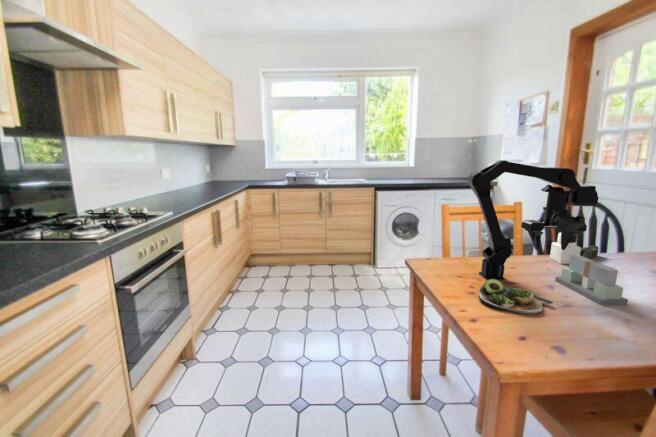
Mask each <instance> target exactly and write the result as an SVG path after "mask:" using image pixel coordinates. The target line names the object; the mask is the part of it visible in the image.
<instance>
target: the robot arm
mask: <svg viewBox="0 0 656 437" xmlns="http://www.w3.org/2000/svg"><path fill="white" fill-rule="evenodd" d="M504 173H505V174H506V173H507V174H509V173H510V174H512V175H513V174H515V175H519V176H524V177H528V178H529V177H531V178H536V179H539V180H540V181H543V182H547V183H549V184H546V185H545V186H544V187H542V188H541V189H540V191H541V192H545V193H547V198H546V199H547V200H546V204H545V206H543V207H542V211H543V210H544V211H545V212H544V218H541V220H540V221H538V220H535V219H524V220H523V221H522V222H521V226H520V227H521V228H522V229H523V230H524V231H527V233H528V235H529V237H530V240H531V242H532V245H533V247H534V250H536V251H538V250H539V249H540V242H541V237H542V235H543V234H544V232H543V230H544V229H559V230H560V233H561V249H562V250H565V249H566V247H567V246H568V244H569V243H570V241H571V240H572V238H573V237H574V236H576V235H577V236H578V235H579V234H580V235H581V234H583V232H586V231H587V227H588V225H587V224H586V218H585V217H584V216H582V215H576V216H571V210H570V209H568V204H569V205H571V206H572V207H595V206H596V205H597V204H598V202H599V194H598V191H597V190H596V188H597V187H596V186H595V185H584V186H583V185H581V184H580V183H579V181H578V179H577V178H576V173H575V171H574V170H573V169H572V168H567V167H547V166H545V167H541V166H535V165H529V164H522V163H519V162H518V163H517V162H512V161H508V160H505V159H504V160H501V159H500V160H497V161H495V162H494V163H492V164H491V165H489V166H487V167H484V168H483V169H481V170H479V171H473V172H471V173H470V174H469V175H468V177H467V183H468V185H469V187H470V189H471V190H472V192H473V193H474V195H475V196H476V199H477V201H478V205H479V208H480V210H481V214H482V216H483V220H484V223H485V227H486V229H487V233H488V236H487V237H488V239H487V240H488V242H487V243H488V246H487V247H485V248H484V249H483V250H482V251H481V254H482V257H483V259H482V261H481V271H479V272H478V274H479V275H480V276H481V277H483V278H484V279H486V281H487V280H489V279H496V280H499V281H500V280H501V281H502V280H506V278H505V277H504V275H505V263H506V261H507V259H509V258H510V257H511V256H512V255H513V250H514V247H513V246H512V241H511V240H512V239H511V237H510V236H509V235H507V234H506V233H503V232H502V228H501V226H500V222H499V219H498V216H497V213H496V210H495V206H494V202H493V199H492V196H491V195H492V194H491V192H492V190H491V189H492V185H491V184H492V183H491V182H494V180H496V179H497V178H499V177H500V176H501V175H503V174H504ZM552 184H553V185H555V186H553V185H552ZM556 185H557V186H556ZM564 188H565V189H564Z"/></svg>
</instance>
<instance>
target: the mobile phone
mask: <svg viewBox="0 0 656 437" xmlns="http://www.w3.org/2000/svg"><path fill="white" fill-rule="evenodd" d="M598 254H599V246H598V245H589V246H584V247H581V251H580V256H583V257H586V258H588V259H593V258H596V257H598V256H599V255H598Z"/></svg>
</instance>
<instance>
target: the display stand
mask: <svg viewBox="0 0 656 437" xmlns="http://www.w3.org/2000/svg"><path fill="white" fill-rule="evenodd" d="M560 275H561V276H555V280H554V281H556V283H559V284H561V285H563V287H565V288H566V287H567V288H569V289H570V290H572V291H573V292H576V293H577V294H579V295H581V296H583V297H585V298H587V299H589V300H591V301H592V302H594V303H596V304H598V305H600V306H605V305H606V306H608V305H609V306H610V305H612V306H613V305H615V306H617V305H628V299H627V298H626V297H624V296H623V292H624V287H622V286H620V285H619V284H616V285H615V286H604V285H602V284H600V283H597V282H595V281H593V280H591V279H589V278H587V277H584V276H582V275H580V274H578V273H576V272H574V271H571V270H569V266H568V267H562V268H561V274H560Z"/></svg>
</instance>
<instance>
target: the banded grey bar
mask: <svg viewBox="0 0 656 437" xmlns="http://www.w3.org/2000/svg"><path fill="white" fill-rule="evenodd" d="M568 267H569V270H571V271H574V272H576V273H578V274H580V275H582V276H584V277H587V278H589V279H591V280H593V281H595V282H597V283H600V284H602V285H604V286H615V285H617V279H618V274H619V270H618V269H616V268H613V267H611V266H608V265H606V264H603V263H601V262H598V261H596V260H593V259H592V258H590V259H588V258H586V257H583V256H580V255H571V256H570V263H569V264H568Z"/></svg>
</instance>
